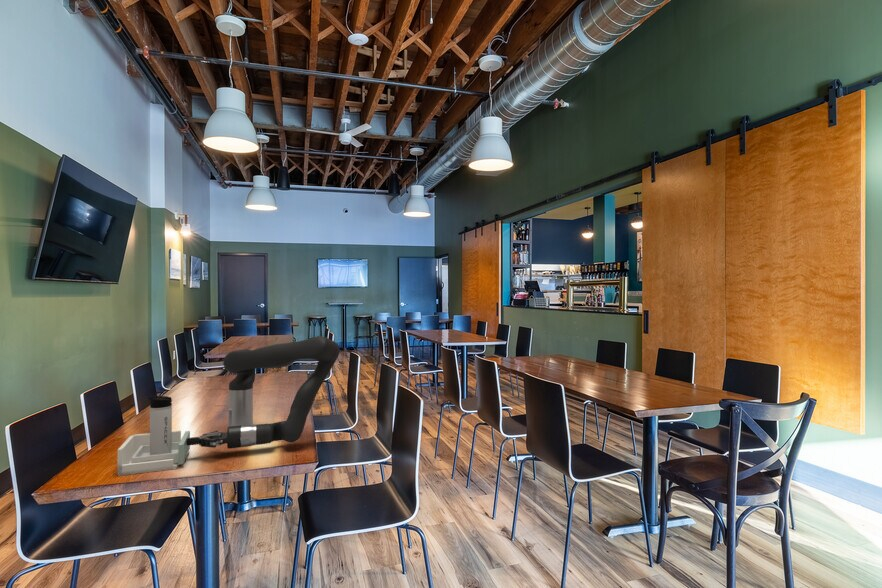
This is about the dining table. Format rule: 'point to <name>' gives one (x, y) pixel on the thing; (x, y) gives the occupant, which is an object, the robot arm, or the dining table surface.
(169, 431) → the travel mug
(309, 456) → the dining table surface
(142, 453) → the tray
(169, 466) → the dock
